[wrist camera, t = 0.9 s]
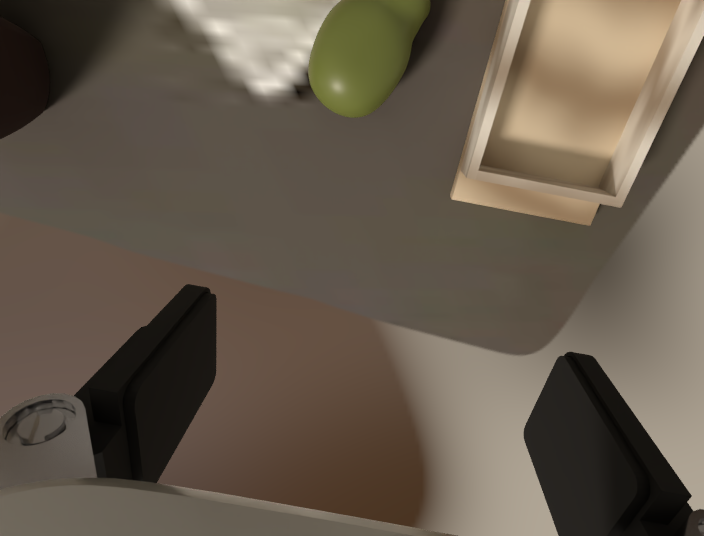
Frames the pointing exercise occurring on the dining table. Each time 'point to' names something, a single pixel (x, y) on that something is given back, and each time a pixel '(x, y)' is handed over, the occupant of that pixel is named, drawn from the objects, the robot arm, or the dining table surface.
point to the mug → (21, 78)
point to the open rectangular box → (574, 102)
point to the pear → (363, 52)
